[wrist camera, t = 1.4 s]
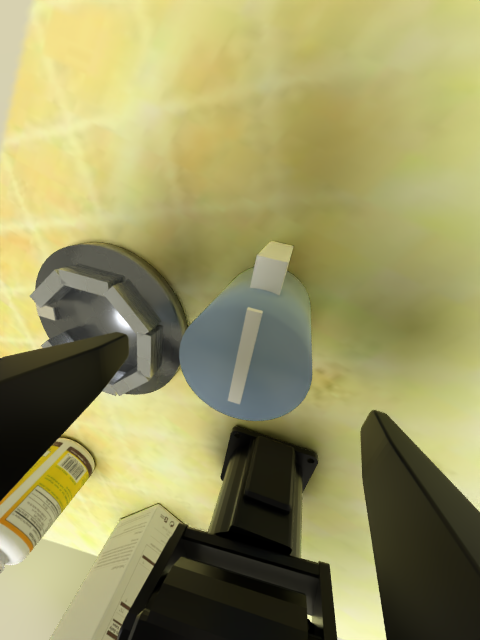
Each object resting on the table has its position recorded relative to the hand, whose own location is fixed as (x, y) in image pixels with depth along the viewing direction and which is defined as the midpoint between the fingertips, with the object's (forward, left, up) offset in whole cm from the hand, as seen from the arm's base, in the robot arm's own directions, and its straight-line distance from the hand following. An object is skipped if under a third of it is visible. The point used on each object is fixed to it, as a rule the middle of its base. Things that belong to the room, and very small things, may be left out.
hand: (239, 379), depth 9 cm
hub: (-4, +10, -6) cm, 13 cm away
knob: (0, 0, -6) cm, 6 cm away
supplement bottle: (-22, +16, -7) cm, 28 cm away
